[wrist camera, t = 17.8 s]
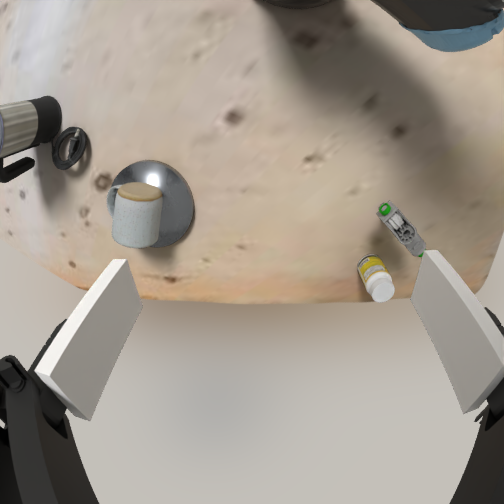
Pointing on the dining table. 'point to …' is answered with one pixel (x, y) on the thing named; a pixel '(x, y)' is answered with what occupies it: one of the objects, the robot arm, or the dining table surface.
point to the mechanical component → (401, 228)
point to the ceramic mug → (135, 214)
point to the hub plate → (173, 193)
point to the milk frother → (35, 134)
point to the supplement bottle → (376, 278)
